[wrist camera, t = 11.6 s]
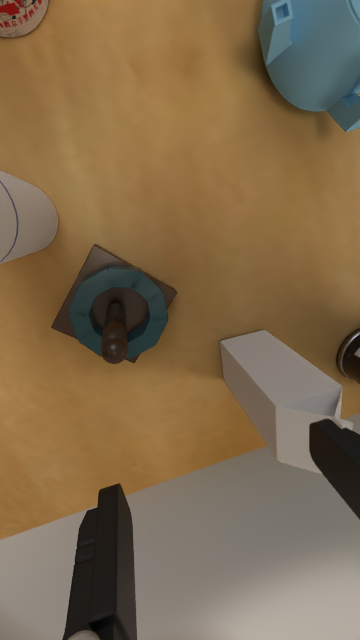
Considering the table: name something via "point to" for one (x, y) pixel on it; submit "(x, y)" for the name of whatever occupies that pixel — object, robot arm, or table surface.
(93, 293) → the ring
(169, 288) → the stand
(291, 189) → the table surface
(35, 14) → the teacup with lid
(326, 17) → the teapot
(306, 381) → the milk carton
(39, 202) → the cylindrical container
